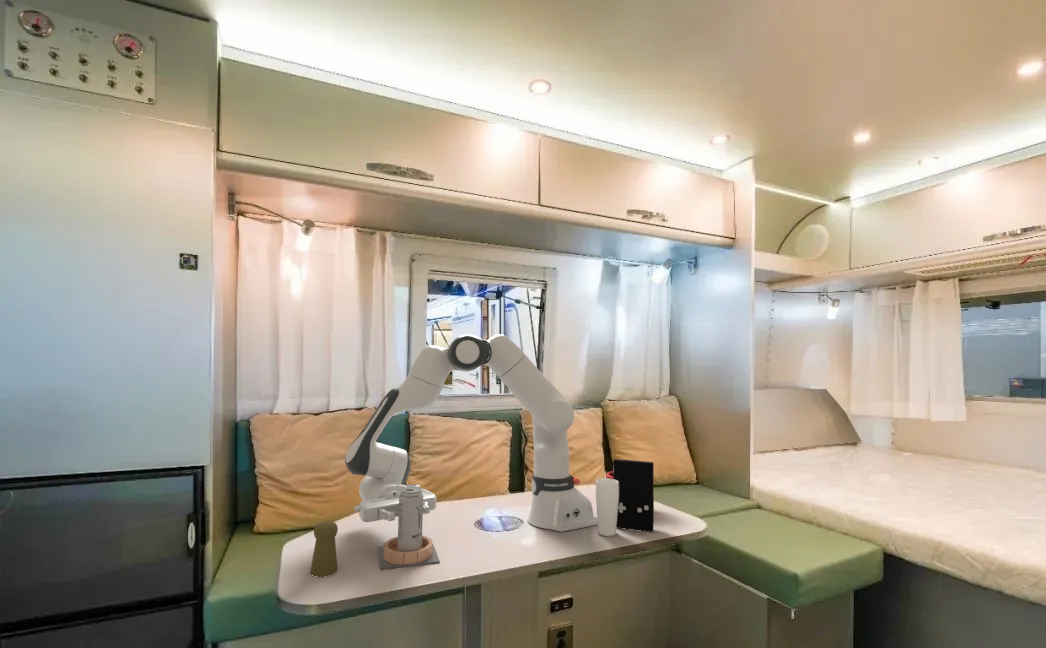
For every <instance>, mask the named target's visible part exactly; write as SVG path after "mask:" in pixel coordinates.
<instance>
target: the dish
mask: <svg viewBox="0 0 1046 648" xmlns="http://www.w3.org/2000/svg"><path fill="white" fill-rule="evenodd" d="M397 545H398V536H395V537H392V538H389V539H388V540H387V541H385V542H384V543H383V546H378V548H377V549H378V558H379V561H378V562H379V569H380V571H382V569H383V570H384V569H385V570H391V569H392V568H393V569H399V567H401V568H407V567H408V566H409V567H415V566H416V565H418V566H425V565H426V566H427V565H434V564H440V561H441V560H440V558H439V556H438V553H437V550H436V548H435V544H434V542H433V540H432V538H430V537H427V536H425V535H422V547H421V548H420V549H419V550H417V551H410V552H400V551H399V549H398V548H397ZM393 569H392V570H393Z"/></svg>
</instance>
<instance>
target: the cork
mask: <svg viewBox="0 0 1046 648" xmlns="http://www.w3.org/2000/svg"><path fill="white" fill-rule="evenodd" d="M338 531H339V528H338V524H337V522H334V521H321V522H320V523H317V524H316V526H315V527H314V530H313V537H314V538H315V543H314V548H313V555H312V560H311V566H310V571H309V574H311V575H313V576H317V577H316V578H325V577H324V576H326V577H329V575H330V576H332V574H333V575H335V574H336V573H337V572H338V571H337V570H339V568H338V557H337V555H338V554H337V546H336V545H337V544H336V536H337V534H338ZM335 572H336V573H335ZM311 575H310V576H311ZM313 576H312V577H313Z"/></svg>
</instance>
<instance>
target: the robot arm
mask: <svg viewBox="0 0 1046 648" xmlns="http://www.w3.org/2000/svg"><path fill="white" fill-rule="evenodd" d="M483 365H484V366H486V367H488V368H490V369H491V370H492V371H493V372H494V373H495V374H496V376H497V377H498V378H499V379H500V381H501V382H502V383H503V384H504V386H506V388H507V389H508V390H509V391H510V392H511V393H512V395H513V396H514V397H515V398H516V399H517V400H518V401H519V402H520V404H522V406H523V407H524V409H526V410H527V411H528V412H529V414H530V415H531V417H532V419H531V420H532V436H533V438H532V439H533V474H532V477H531V492H532V498H531V504H530V509H529V514H528V518H527V522H528V524H529V525H532V526H533V527H537V528H541V529H546V530H552V531H557V532H561V533H562V532H567V531H572V530H578V529H583V528H588V527H592V526H598V519H597V513H595V512H594V510H593V505H592V502H591V500H590V499H589V498H588V497H587V496H586V495H585V494H584V493H583V492H581V491H580V490H579V489H577V488H576V487H575V485H576V486H579V485H580V484H581V480H580V478H578V477H577V476H575V477H574V476H573V475H571V474H570V447H569V441H568V440H569V439H568V433H567V430H569V429H570V428H571V427H572V425H573V423H574V421H575V413H574V408H573V406H572V405H571V403H570V402H569V401H568V400H567V398H566V397H565V396H564V395H563V394H562V393H561V392H560V391H559V390H558V389H557V387H556V386H554V384H552V382H551V381H550V380H549V379H548V378H547V377H546V376H545V375H544V374H543V373H542V372H541V371H540V369H539V368H538V367H537V366H536V365H535V363H534V362H532V360H531V359H530V358H529V357H528V356H527V354H526V353H525V352H524V351H523V350H522V349H521V348H520V346H518V345H517V344H516V343H515V342H514V341H513V340H511V338H509V337H507V335H504V334H496V335H492V336H491V337H490V338H488V339H484V338H481V337H478V336H475V335H473V334H462V335H459V336H457V337H456V338H454V340H453V341H452V342H451V343H450V345H449V346H447V347H446V348H445V347H440V346H436V345H428V346H425V347H424V348H423V349H422V350H421V352H420V353H419V354H418V356H417V358H415V360H414V362H413V365H412V366H411V368H410V370H409V372H408V375H407V376H406V378H405V379H404V380H403V382H402V383H401V384H400V385H399V386H398V387H395V388H391V389H390V390H389V391H388V392H387V393H386V395H385V396H384V397H383V399H382V400H381V402H380V403H379V404H378V406H377V407H376V408H375V410H374V412H373V414H371V417H369V419H368V421H367V423H366V424H365V426H364V427H363V429H362V430H361V432H360V433H359V435H358V436H357V437H356V438H355V439H354V441H353V442H352V443H351V444H350V446H349V447H348V449H347V451H346V454H345V456H344V457H345V458H344V463H345V466H346V468H347V470H348V471H349V472H350V473H351V474H352V475H356V476H365V477H363V478H362V480H361V481H360V483H359V486H358V493H359V495H360V499H361V501H360V503H358V504H357V505H355V506H354V507H353V510H354V511H355V512H356V513H358V516H359V517H360V520H361V522H364V523H370V522H371V523H372V522H374V521H375V522H376V521H382V520H383V521H385V520H386V521H388V522H391V521H395V519H396V518H397V517H398V516H399V496H400V495H401V493H402V489H404V488H410V487H416V488H420V489H421V492H422V494H423V515H429V514H430V512H431V511H433V510H435V509H436V507H437V495H436V494H434V493H433V492H432V491H430V490H428V489H424V488H421V485H420V484H405V483H406V481H407V479H408V477H409V474H410V471H411V467H412V465H411V464H412V463H411V459H410V458H411V457H410V455H409V454H408V451H407V450H406V449H403V448H400V447H396V446H393V445H389V444H384V443H381V442H377V440H378V438H379V437H380V435H381V434H382V432H383V430H384V428H386V425H387V424H388V422H389V421H390V420H391V418H392V417H393V416H395V415H397V414H399V413H403V412H412V411H413V412H414V411H421V410H426V409H427V408H430V407H432V406H433V405H434V404H435V403H436V402H437V400H438V399H439V396H440V395H441V391H442V390H443V387H444V385H445V382H446V380H447V378H448V376H449V375H450V373H451V372H453V371H461V372H472V371H474V370H476V369H477V368H479V367H482V366H483Z"/></svg>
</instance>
